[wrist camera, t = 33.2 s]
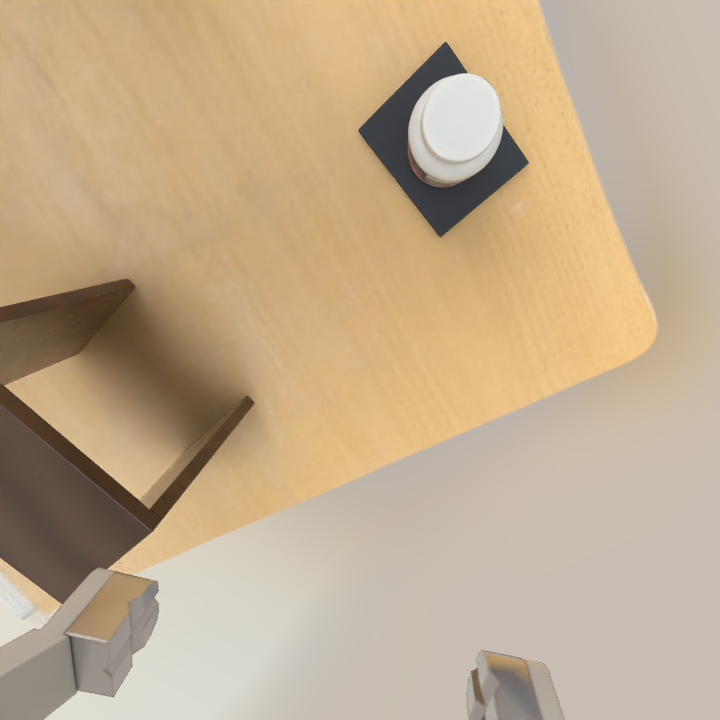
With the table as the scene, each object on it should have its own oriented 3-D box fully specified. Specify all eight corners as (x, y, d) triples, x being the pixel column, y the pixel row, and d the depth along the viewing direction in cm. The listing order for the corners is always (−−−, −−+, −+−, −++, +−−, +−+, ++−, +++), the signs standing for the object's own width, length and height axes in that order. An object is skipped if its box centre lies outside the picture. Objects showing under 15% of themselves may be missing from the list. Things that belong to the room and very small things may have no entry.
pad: (358, 131, 30) (357, 129, 30) (445, 44, 28) (446, 40, 27) (439, 236, 32) (440, 237, 32) (527, 163, 30) (529, 162, 29)
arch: (192, 457, 42) (63, 605, 26) (69, 346, 39) (-162, 437, 23) (254, 402, 39) (152, 531, 23) (127, 278, 36) (-92, 327, 20)
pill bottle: (406, 109, 29) (408, 59, 20) (483, 103, 28) (521, 48, 19) (407, 190, 31) (409, 179, 22) (479, 186, 30) (513, 173, 21)
